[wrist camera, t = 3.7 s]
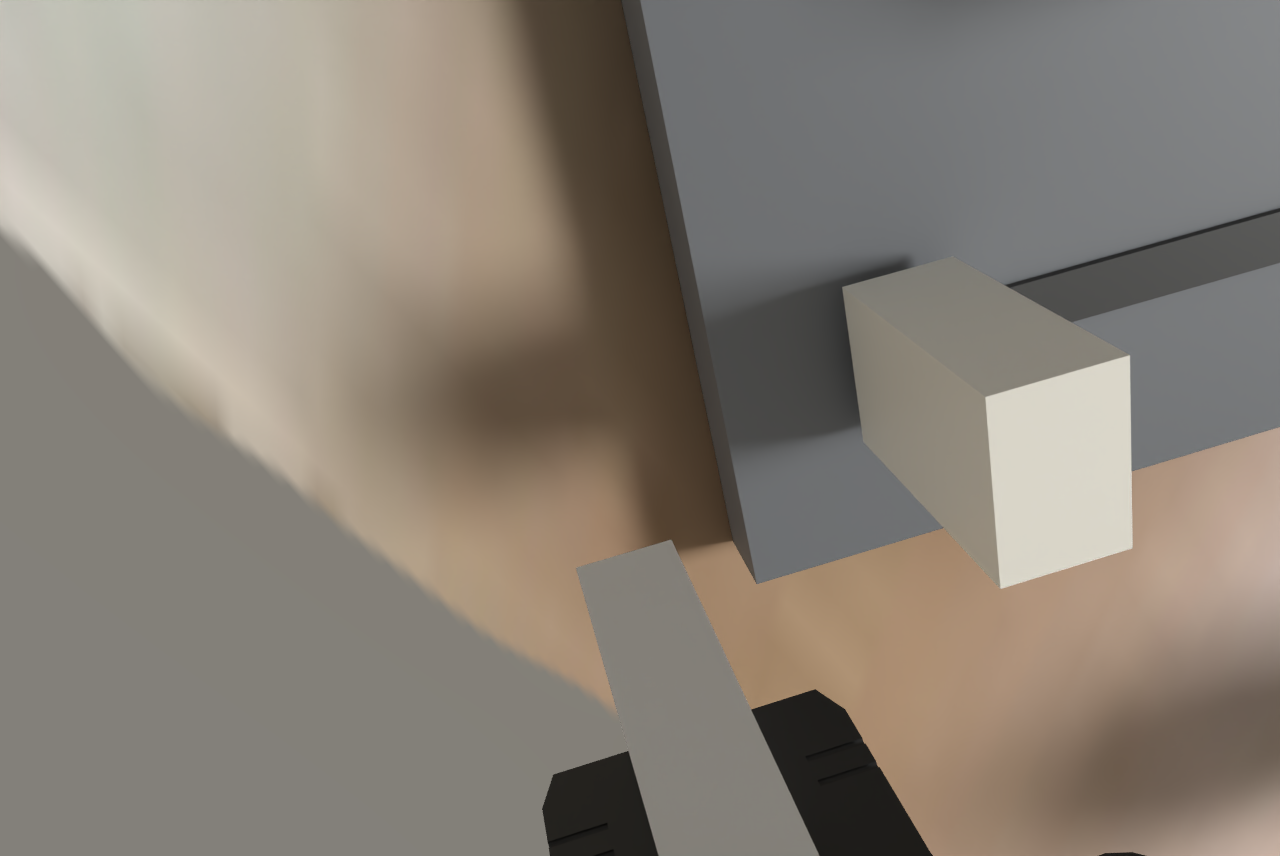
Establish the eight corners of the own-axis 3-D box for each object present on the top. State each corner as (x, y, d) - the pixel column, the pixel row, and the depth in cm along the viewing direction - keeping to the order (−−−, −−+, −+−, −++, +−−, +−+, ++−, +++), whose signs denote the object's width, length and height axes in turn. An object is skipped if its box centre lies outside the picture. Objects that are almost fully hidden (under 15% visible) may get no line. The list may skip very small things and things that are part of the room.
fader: (842, 287, 22) (985, 397, 16) (953, 256, 22) (1130, 355, 17) (863, 441, 23) (1000, 588, 18) (966, 412, 24) (1132, 548, 18)
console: (558, -305, 19) (597, -370, 15) (1782, -575, 21) (2089, -692, 17) (733, 541, 27) (788, 640, 23) (1614, 280, 29) (1799, 331, 25)
